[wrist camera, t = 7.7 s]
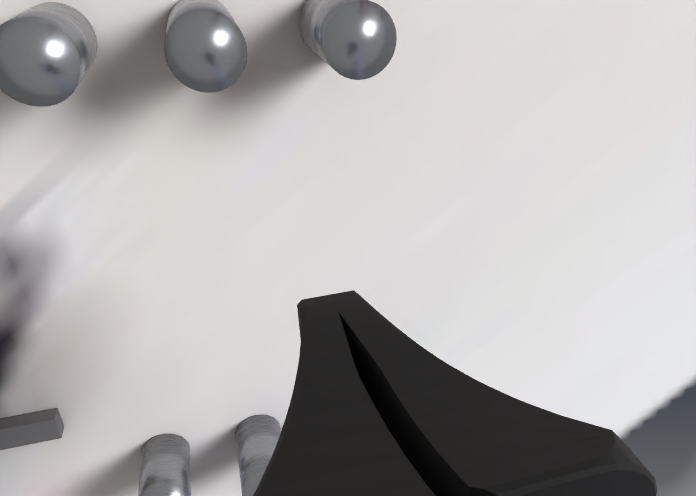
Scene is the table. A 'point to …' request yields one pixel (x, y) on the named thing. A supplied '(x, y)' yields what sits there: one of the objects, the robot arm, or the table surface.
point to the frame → (30, 428)
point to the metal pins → (206, 76)
